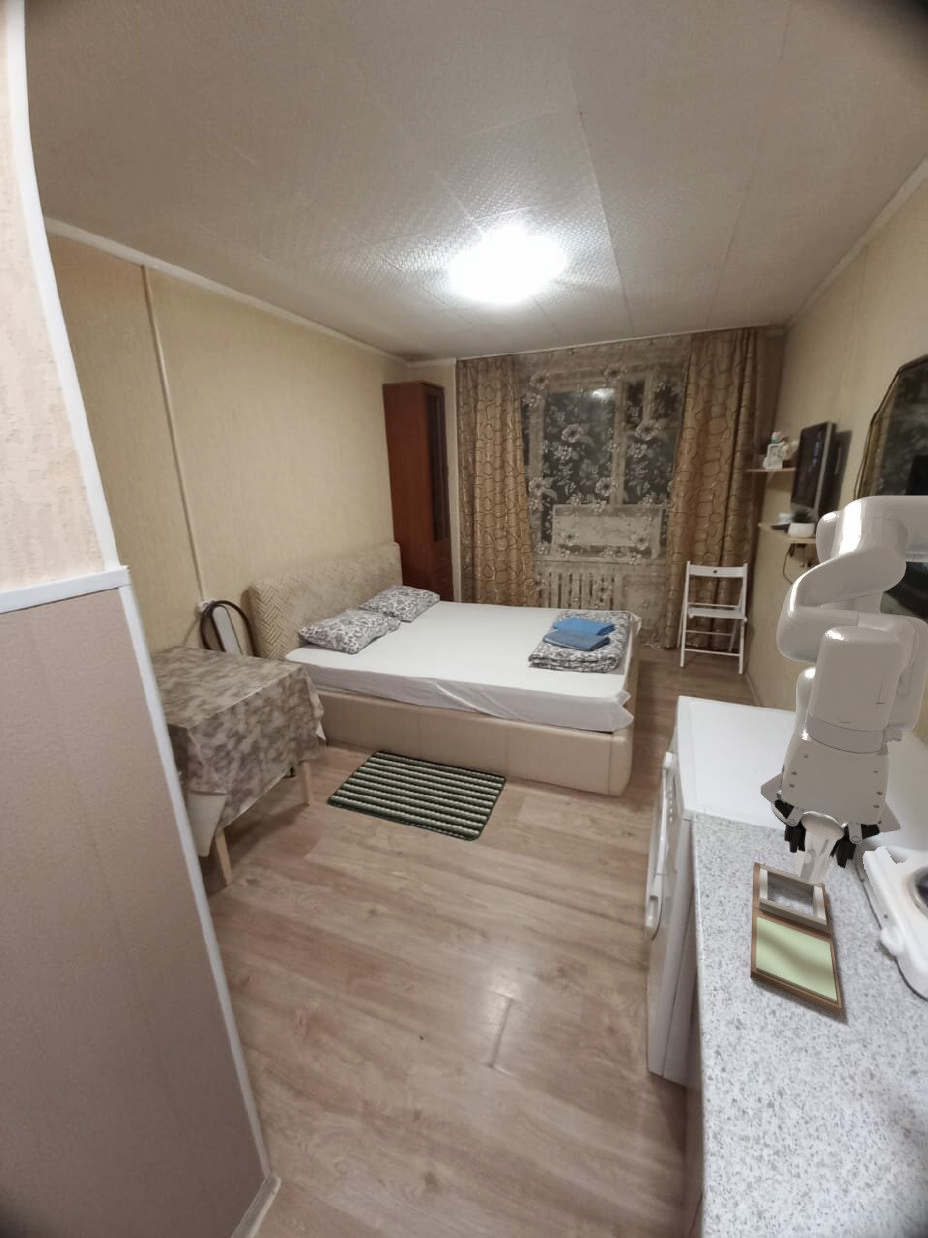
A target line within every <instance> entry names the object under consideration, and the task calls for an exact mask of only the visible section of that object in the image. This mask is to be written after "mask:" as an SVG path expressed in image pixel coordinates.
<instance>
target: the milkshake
mask: <svg viewBox="0 0 928 1238" xmlns="http://www.w3.org/2000/svg"><path fill="white" fill-rule="evenodd" d="M847 824H848V821H845V822H844V823H843V825H842V826H841V825H840V824H839V823H838V822H837V821H836V820H835V819H834V818H832V817H830V816H828V815H824V814H820V813H817V812H812V811H810V812H805V813H804V814H803V816H802V817H801V819H800V825H801V835H800V839H799V844H798V849H797V853H794V855H795V856H794V860H793V866H792V867H793V872H794V873H793V874H794V875H797V876H798V877H799V878H800V879H802V880H804V881H806V882H808V883H812V884H819V883H822V882H824V879H825V877H826V874H827V873H828V869H829V868H830V865H831V863H832V861H833V858H834V857H835V855H836V850H837V848H838V846H839V844H840V842H841V840H842V838H843V836H844V830H843V828H844V827H845V826H846V825H847Z"/></svg>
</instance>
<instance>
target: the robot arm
mask: <svg viewBox="0 0 928 1238" xmlns="http://www.w3.org/2000/svg"><path fill="white" fill-rule="evenodd" d="M815 534H816V535H815V546H816V552H817V559H818V561H819V562H818V563H819V564H818V565H817V564H816V565H815V566H814V567H812V568H810V569H809V570H808V571H806V572H804V573H803V574H802V575H800V576H799V577H798V578H797V579H796V580H795V581H793V583H792V585H791V586H790V587H789V589H788V591H787V593H786V594H785V597H784V601H783V603H782V608H781V611H780V615H779V620H778V623H777V628H776V634H775V637H776V639H775V641H776V646H777V649H778V651H779V653H780V654H781V655H782V656H783V657H785V658H786V659H789V660H791V661H795V662H798V663H799V662H800V663H805V664H810V665H815V666H810V667H807V668H805V669H803V670H802V671H801V672H800V673H799V675H798V677H797V680H796V682H795V684H796V685H795V717H794V725H793V731H792V732H793V733H792V735H791V737H790V739H789V743H788V745H787V748H786V751H785V755H784V758H783V759H784V760H783V763H782V767H781V772H780V773H779V774H776V776H774V777H772V778H771V779H769V780H768V781H766V782H764V783H763V784H762V785H760V795H761V796H762V797H764V798H765V799H766V800H767V801H768V802H770V807H771V810H772V811H773V813H774V814H775V815H776V816H777V817H778V818H779V819H780V820H781V821H782V822H784V823H785V828H784V833H783V841H785V842H788V843H789V852H790V853H792V854H796V853H797V849H798V844H799V839H800V835H801V825H800V819H801V817H802V816H803V814H804V813H805V812H810V811H812V812H817V813H820V814H824V815H828V816H830V817H832V818H834V819H835V820H836V821H837V822H838V823H839V824H840V825H841V826H842V825H843V823H844V822H845V821H848V824H847V825H846V826H845V827H844V828H843V830H844V836H843V838H842V840H841V842H840V844H839V846H838V848H837V850H836V852H835V856H836V857H835V859H836V863H837V866H839V868H842V869H846V868H847V863H848V860H849V861H853V860H854V856H855V852H856V849H857V846H858V845H859V844H862V843H863V840H866V839H868V838H872V837H875V836H877V835H878V836H879V834H881V833H883V834H884V833H889V832H890V833H891V832H896V831H899V830H901V823H900V821H899V819H898V818H897V816H896V814H895V813H894V812H893V810H892V809H891V807H890V805H889V804H888V803H887V801H886V797H887V790H888V779H889V770H890V769H889V767H890V766H889V764H890V763H889V762H890V761H889V759H890V757H889V747H888V745H887V743H888V742H892V741H894V742H900V743H901V741H902V739H903V734H906V733H909V732H911V731H913V730H914V728H915V727H916V725H917V723H918V720H919V719H920V718H919V717H920V715H921V714H920V713H921V709H922V705H923V700H924V699H923V698H924V693H925V688H926V681H927V677H928V623H927V622H926V621H924V620H922V619H920V618H918V617H914V616H910V615H909V616H908V615H900V614H892V613H883V612H882V611H881V602H882V598H883V593H884V592H886V591H888V590H890V589H892V588H893V587H895V586H896V585H897V584H899V582H901V581H902V579H903V577H904V576H905V573H906V569H907V562H909V563H910V562H911V563H928V495H871V496H865V497H861V498H858V499H855V500H853V501H851V502H850V503H848V504H847V505H845V506H844V507H843V508H842V509H840V510H834V511H832V512H831V511H830V512H828V513H826V514H824V515H823V516H821V518H819V521H818V522H817V525H816V531H815Z"/></svg>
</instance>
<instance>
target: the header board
mask: <svg viewBox="0 0 928 1238" xmlns="http://www.w3.org/2000/svg"><path fill="white" fill-rule="evenodd" d="M752 875H753V878H752V879H753V880H752V903H751V907H752V909H751V910H752V911H751V942H750V944H751V945H750V947H751V948H750V973H749V974H750V975H749V976H750V978H752V979H754V980H756V981H759V982H761V983H764V984H765V985H766V984H767V985H769V986H770V987H773V988H775V989H778V990H780V991H783V992H785V993H787V994H790V995H792V996H794V997H797V998H799V999H801V1000H804V1001H806V1002H809V1003H810V1004H813V1005H816V1006H818V1007H821V1008H822V1009H825V1010H826V1011H827V1010H828V1011H830V1012H833V1013H834V1014H837V1015H839V1016H840V1015H841V1011H842V1007H843V1006H842V1000H841V994H840V988H839V987H840V986H839V980H838V979H839V978H838V973H837V972H838V971H837V964H836V959H835V951H834V950H835V949H834V943H833V937H832V928H831V920H830V915H829V907H828V899H827V898H828V897H827V891H826V885H825V883H822V882H820V883H819V884H812V883H808V882H806V881H804V880H802V879H800V878H799V877H798V876H797V875H796V874H795V873H790V872H788V871H786V870H785V871H784V870H781V869H778V868H775V867H772V866H768V865H765V864H762V863H759V862H756V861H754V863H753V873H752ZM768 884H769V885H773V886H775V887H778V888H781V889H784V890H786V891H790V892H793V893H796V894H798V895H802V896H804V897H808V898H811V904H812V914H810V913H807V912H806V911H805V912H804V911H801V910H799V909H795V908H793V907H790V906H788V905H784V904H781V903H779V902H775V901H773V900H770V899H768Z"/></svg>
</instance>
